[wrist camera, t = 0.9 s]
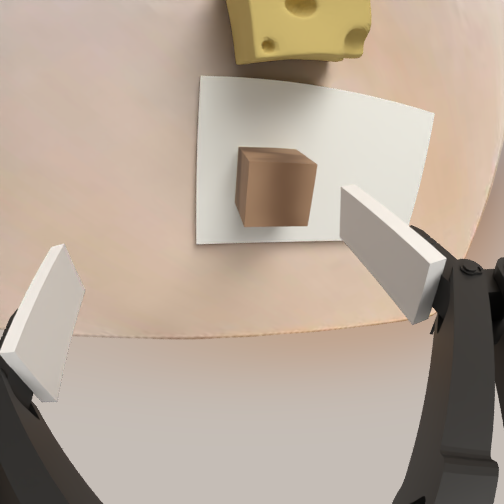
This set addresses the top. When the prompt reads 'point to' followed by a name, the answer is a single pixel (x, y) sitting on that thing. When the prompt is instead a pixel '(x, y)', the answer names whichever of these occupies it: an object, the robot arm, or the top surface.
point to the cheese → (298, 29)
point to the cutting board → (305, 152)
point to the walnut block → (274, 186)
